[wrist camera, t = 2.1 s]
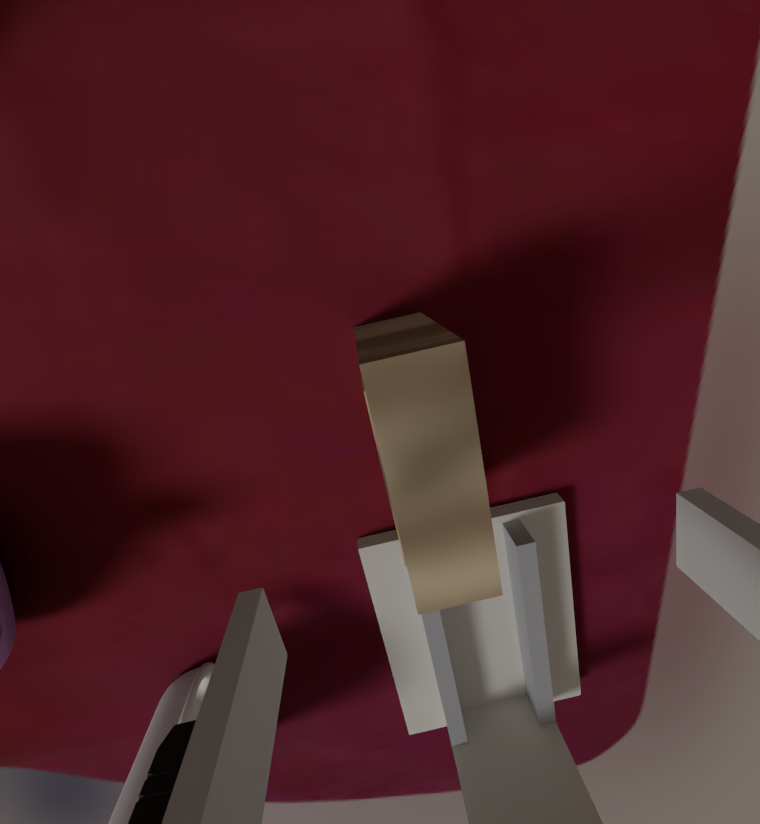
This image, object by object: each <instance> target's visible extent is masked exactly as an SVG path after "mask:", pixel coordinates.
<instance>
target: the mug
mask: <svg viewBox="0 0 760 824" xmlns="http://www.w3.org/2000/svg"><path fill="white" fill-rule="evenodd" d="M214 665H215V664H214V663H211V662H207V663H204V664H203V665H202V666H201V667H198V668H195V669H192V670H190V671H188V672H186V673H184V674H183V675H181V676H180V677H178V678H177V679H176V680H175V681H174V682H173V683H172V684H171V685H170V686H169V687H168V688H167V690H166V691H165V693H164V695H163V696H162V698H161V700H160V702H159V704H158V706H157V709H156V711H155V713H154V716H153V718H152V721H151V723H150V725H149V728H148V730H147V732H146V735H145V737H144V740H143V742H142V744H141V747H140V749H139V752H138V754H137V756H136V759H135V761H134V763H133V766H132V768H131V771H130V773H129V775H128V778H127V780H126V782H125V785H124V787H123V790H122V792H121V794H120V797H119V799H118V802H117V804H116V806H115V809H114V811H113V813H112V816H111V818H110V821H109V823H108V824H128V822H129V819H130V817H131V814H132V812H133V809H134V807H135V804H136V802H138V801H139V794H140V792H141V789H142V786H143V784H144V781H145V780H146V779H147V774H148V771H149V769H150V766H151V764H152V761H153V759H154V756H155V754H156V751H157V749H158V747H159V746H160V744H161V743H162V742H163V740H164V739H165V737H166V736H167V735H168V733H169V732H170V730H171V729H172V728H173V726H174V725H176V724H181V723H185V722H189V721H194V720H196V719H197V716H198V713H199V710H200V707H201V704H202V701H203V698H204V695H205V692H206V689H207V686H208V683H209V680H210V677H211V674H212V671H213V668H214Z"/></svg>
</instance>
